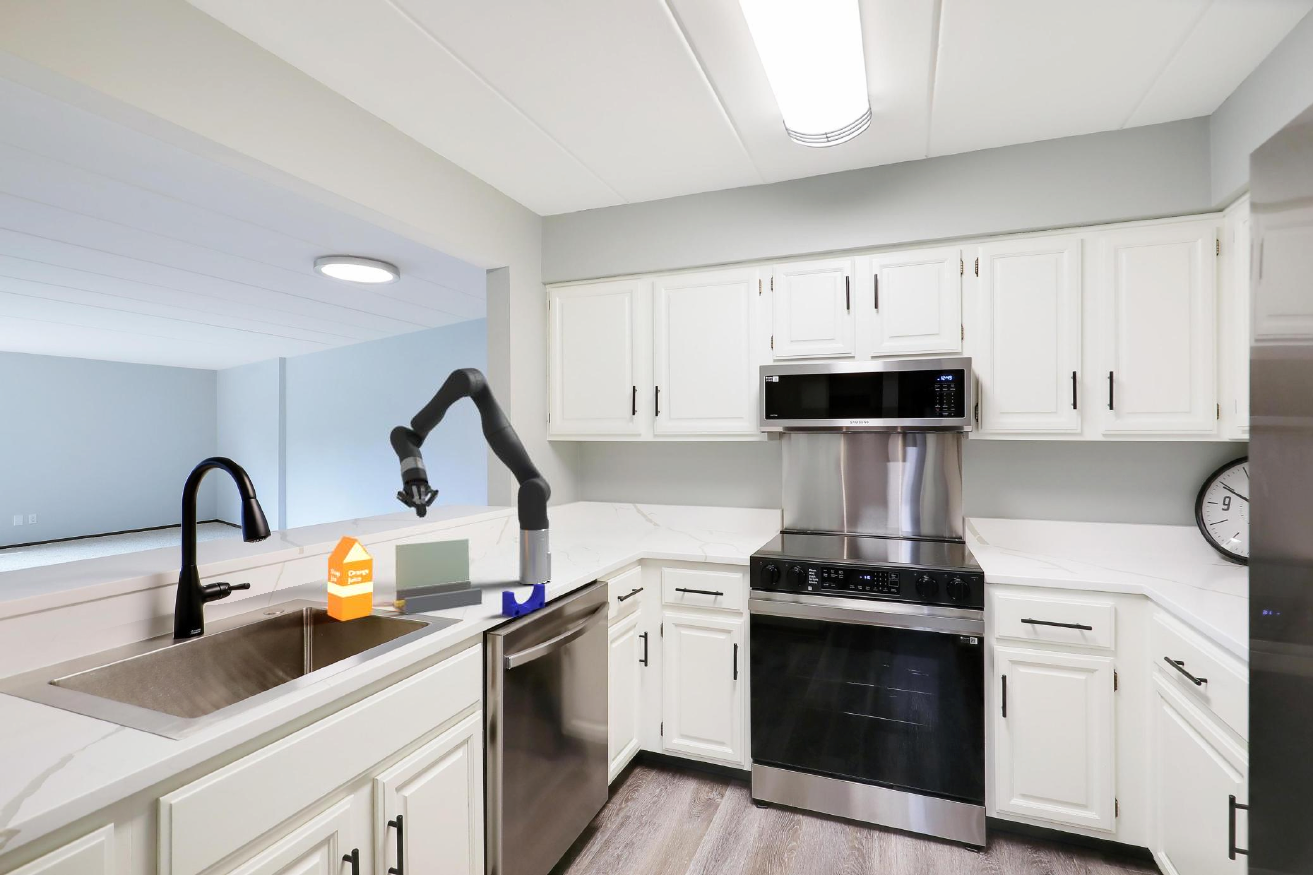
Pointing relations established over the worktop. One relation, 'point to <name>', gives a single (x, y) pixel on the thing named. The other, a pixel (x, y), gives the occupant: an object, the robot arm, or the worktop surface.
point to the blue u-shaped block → (533, 602)
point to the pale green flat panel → (432, 563)
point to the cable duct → (437, 597)
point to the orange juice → (350, 580)
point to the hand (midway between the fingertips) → (422, 515)
